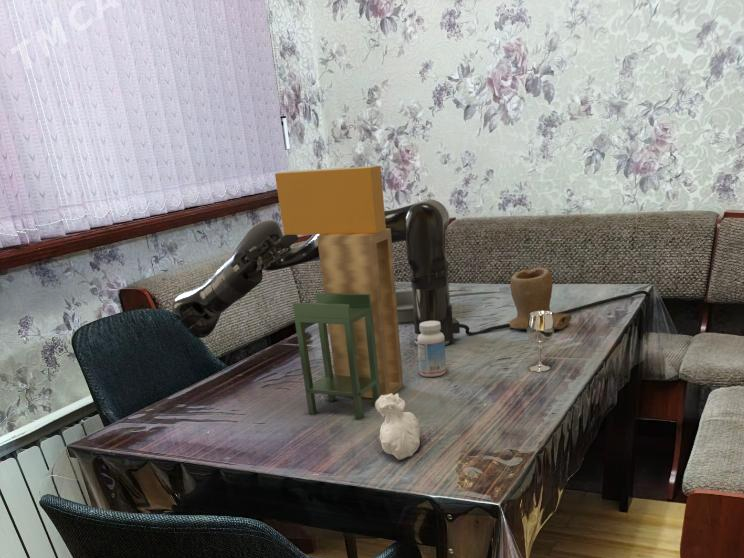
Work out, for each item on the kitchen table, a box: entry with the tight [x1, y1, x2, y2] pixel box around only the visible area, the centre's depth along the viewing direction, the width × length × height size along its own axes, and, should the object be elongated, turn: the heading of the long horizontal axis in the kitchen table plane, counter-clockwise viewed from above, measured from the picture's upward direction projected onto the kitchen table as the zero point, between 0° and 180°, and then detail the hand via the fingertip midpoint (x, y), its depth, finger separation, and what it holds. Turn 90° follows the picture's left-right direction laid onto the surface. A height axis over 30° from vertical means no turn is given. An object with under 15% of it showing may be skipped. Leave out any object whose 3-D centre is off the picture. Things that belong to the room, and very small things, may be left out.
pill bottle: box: [417, 321, 447, 378], centre depth 157 cm, size 6×6×11 cm
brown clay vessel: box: [508, 267, 572, 330], centre depth 181 cm, size 15×12×15 cm
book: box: [274, 165, 386, 236], centre depth 136 cm, size 21×4×11 cm, turn 64°
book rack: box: [292, 292, 381, 420], centre depth 139 cm, size 12×9×22 cm
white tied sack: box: [374, 392, 421, 461], centre depth 122 cm, size 12×8×11 cm
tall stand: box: [317, 228, 404, 399], centre depth 145 cm, size 12×8×32 cm, turn 64°
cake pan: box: [396, 289, 414, 324], centre depth 209 cm, size 25×25×4 cm
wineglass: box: [526, 310, 555, 372], centre depth 154 cm, size 6×6×12 cm
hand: (283, 237), depth 144 cm, fingers open, 8 cm apart
